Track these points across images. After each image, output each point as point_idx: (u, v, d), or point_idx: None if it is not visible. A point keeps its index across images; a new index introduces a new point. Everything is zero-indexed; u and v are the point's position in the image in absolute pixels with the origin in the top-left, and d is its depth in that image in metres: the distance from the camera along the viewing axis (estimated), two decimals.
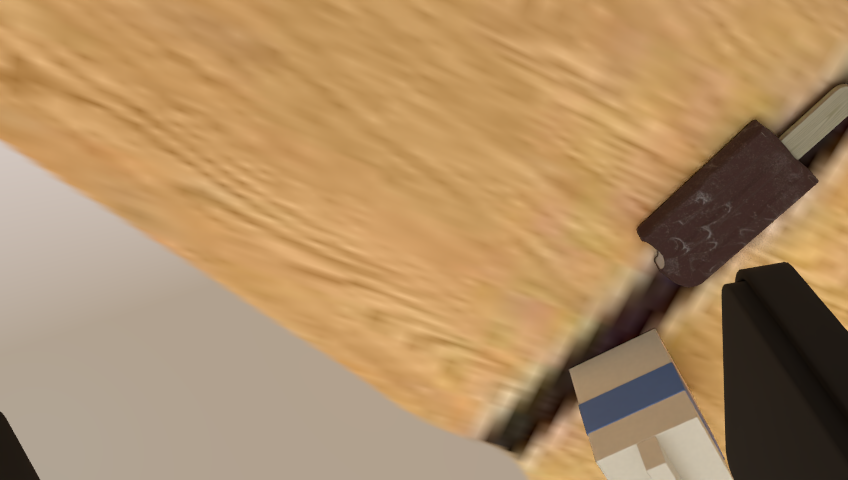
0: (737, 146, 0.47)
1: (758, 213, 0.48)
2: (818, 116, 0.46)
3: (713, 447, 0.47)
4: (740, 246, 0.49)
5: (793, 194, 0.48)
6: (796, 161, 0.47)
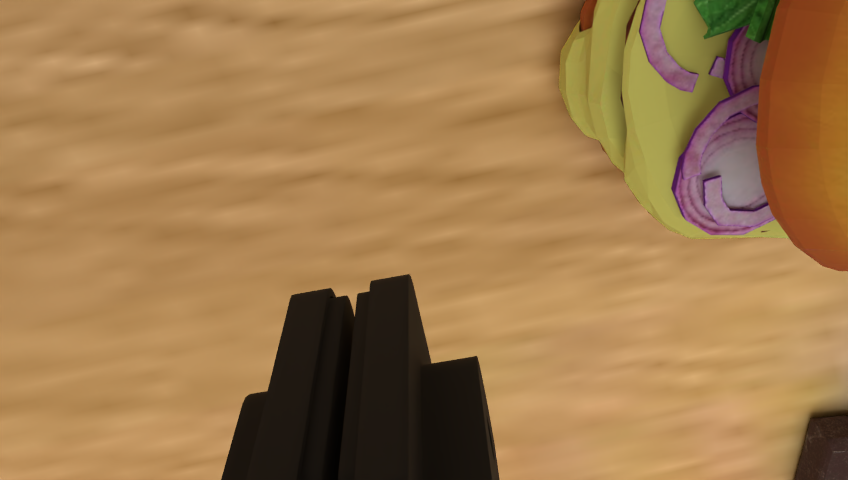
0: (813, 474, 0.28)
1: None
2: None
3: None
4: None
5: None
6: None
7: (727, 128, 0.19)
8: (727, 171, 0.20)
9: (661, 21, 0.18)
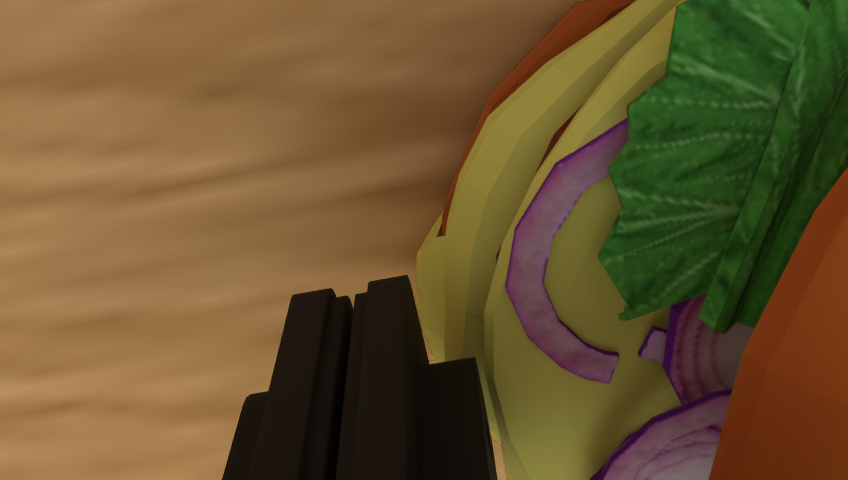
0: None
1: None
2: None
3: None
4: None
5: None
6: None
7: (673, 444, 0.11)
8: None
9: (545, 272, 0.10)
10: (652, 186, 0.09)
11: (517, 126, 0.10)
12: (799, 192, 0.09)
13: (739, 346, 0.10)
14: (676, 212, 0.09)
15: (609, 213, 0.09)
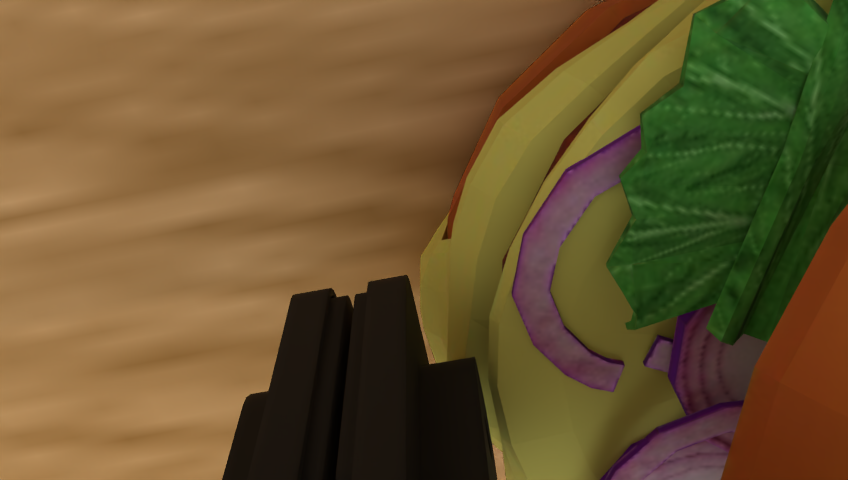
0: None
1: None
2: None
3: None
4: None
5: None
6: None
7: (676, 454, 0.11)
8: None
9: (552, 279, 0.10)
10: (663, 195, 0.09)
11: (527, 131, 0.10)
12: (811, 204, 0.09)
13: (746, 357, 0.10)
14: (687, 222, 0.09)
15: (619, 221, 0.09)
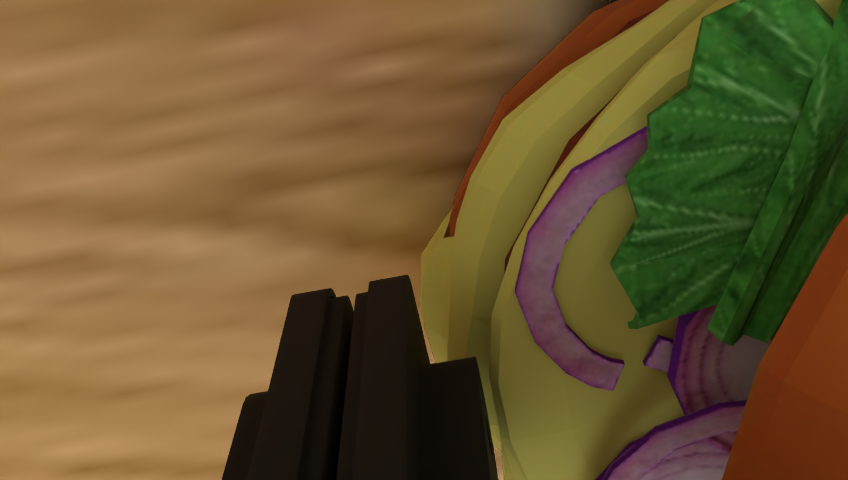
0: None
1: None
2: None
3: None
4: None
5: None
6: None
7: (673, 453, 0.11)
8: None
9: (555, 278, 0.10)
10: (668, 196, 0.09)
11: (532, 130, 0.10)
12: (813, 208, 0.09)
13: (745, 358, 0.10)
14: (690, 223, 0.09)
15: (623, 221, 0.09)
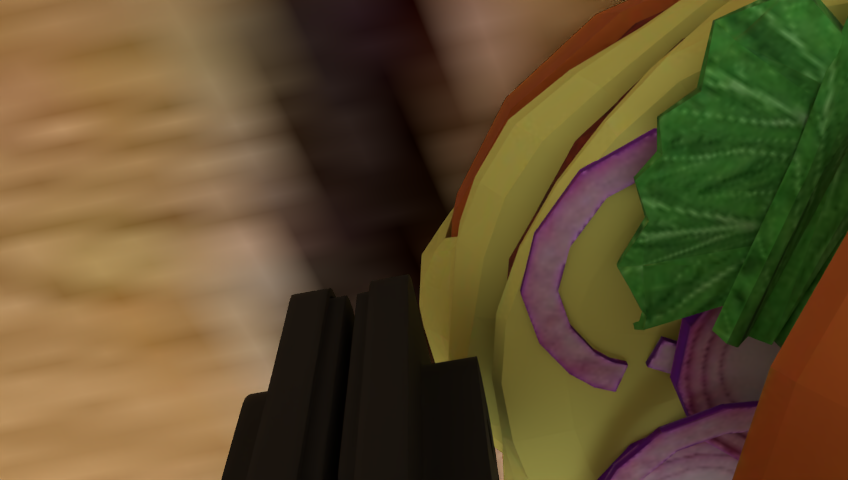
0: None
1: None
2: None
3: None
4: None
5: None
6: None
7: (674, 454, 0.11)
8: None
9: (561, 278, 0.10)
10: (676, 198, 0.09)
11: (538, 131, 0.10)
12: (818, 211, 0.09)
13: (747, 360, 0.10)
14: (698, 225, 0.09)
15: (629, 222, 0.09)
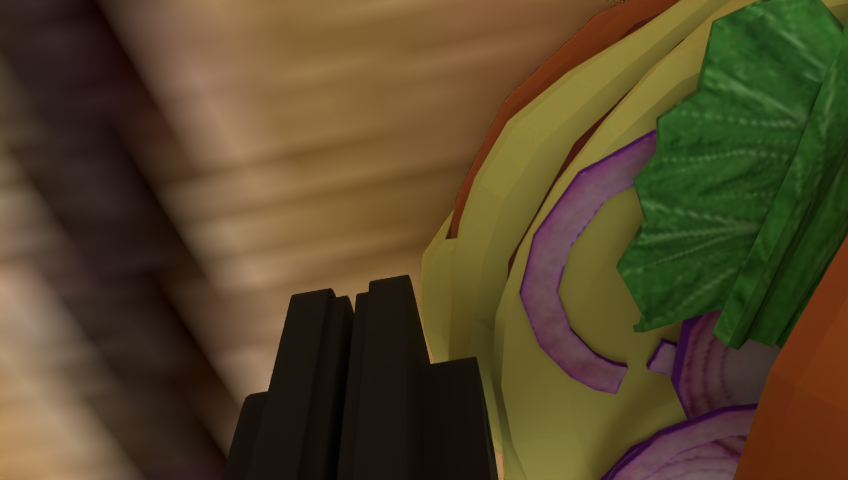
0: None
1: None
2: None
3: None
4: None
5: None
6: None
7: (675, 457, 0.11)
8: None
9: (560, 280, 0.10)
10: (676, 200, 0.09)
11: (538, 133, 0.10)
12: (819, 213, 0.09)
13: (748, 363, 0.10)
14: (697, 227, 0.09)
15: (629, 225, 0.09)
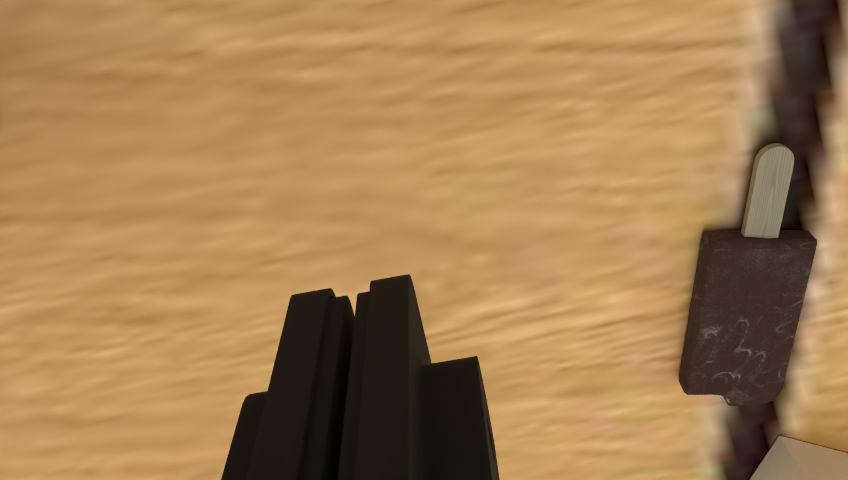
0: (704, 270, 0.41)
1: (780, 306, 0.41)
2: (761, 193, 0.39)
3: None
4: (789, 340, 0.42)
5: (800, 270, 0.40)
6: (775, 244, 0.40)
7: None
8: None
9: None
10: None
11: None
12: None
13: None
14: None
15: None
